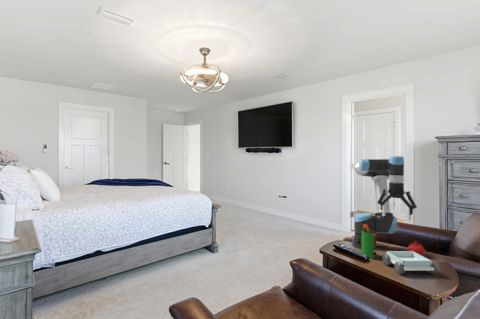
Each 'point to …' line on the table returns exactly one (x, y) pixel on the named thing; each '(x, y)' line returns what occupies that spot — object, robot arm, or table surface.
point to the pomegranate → (417, 248)
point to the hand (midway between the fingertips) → (396, 217)
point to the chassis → (408, 262)
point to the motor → (369, 242)
